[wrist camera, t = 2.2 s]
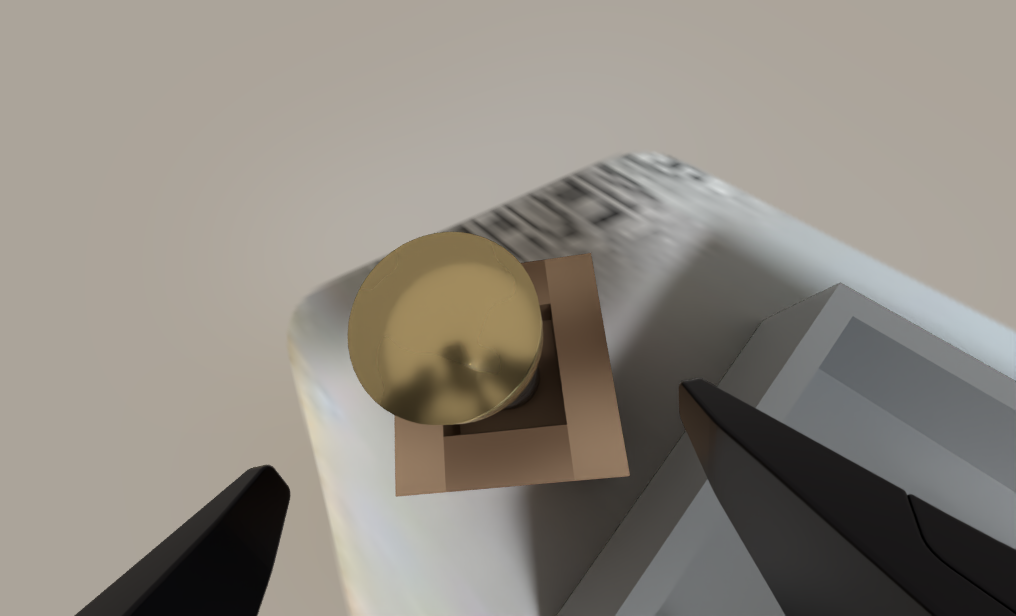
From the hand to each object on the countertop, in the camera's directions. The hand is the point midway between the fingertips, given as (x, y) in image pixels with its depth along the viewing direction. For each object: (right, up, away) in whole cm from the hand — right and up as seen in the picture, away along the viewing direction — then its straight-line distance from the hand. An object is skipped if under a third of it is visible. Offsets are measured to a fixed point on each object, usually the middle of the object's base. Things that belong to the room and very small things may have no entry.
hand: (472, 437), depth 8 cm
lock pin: (+1, 0, +8) cm, 8 cm away
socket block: (+1, -1, +10) cm, 10 cm away
